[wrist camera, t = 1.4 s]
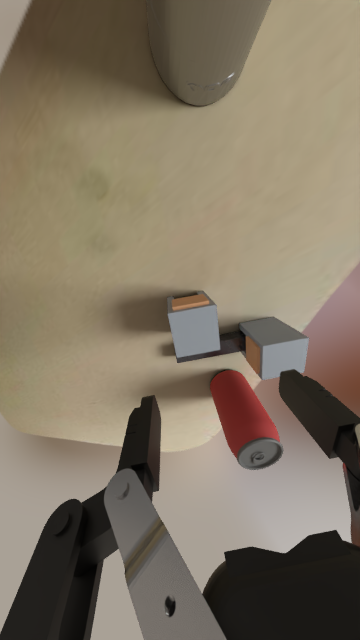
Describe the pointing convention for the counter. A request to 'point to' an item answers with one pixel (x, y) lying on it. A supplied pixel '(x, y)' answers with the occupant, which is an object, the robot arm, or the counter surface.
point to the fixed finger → (273, 347)
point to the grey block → (193, 324)
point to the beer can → (245, 421)
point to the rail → (221, 347)
